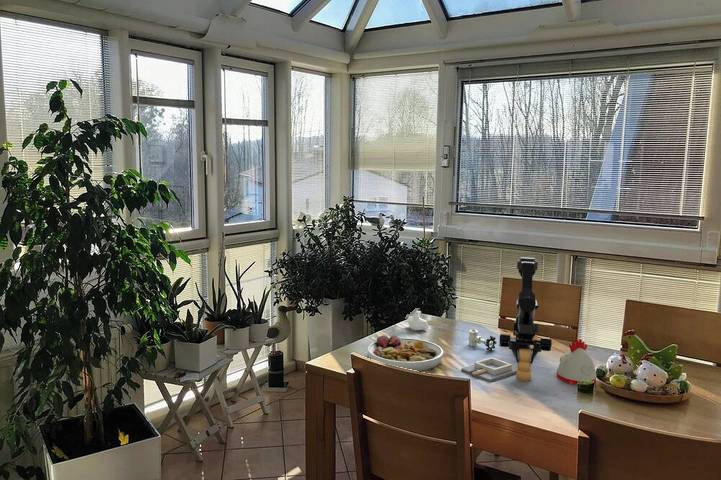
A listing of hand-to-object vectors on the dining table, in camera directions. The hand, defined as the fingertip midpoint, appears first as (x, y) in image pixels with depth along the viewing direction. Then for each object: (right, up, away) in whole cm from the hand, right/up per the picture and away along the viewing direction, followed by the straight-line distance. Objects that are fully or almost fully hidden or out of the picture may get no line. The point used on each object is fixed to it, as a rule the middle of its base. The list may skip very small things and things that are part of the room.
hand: (524, 362), depth 221 cm
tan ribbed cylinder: (0, -6, +2) cm, 7 cm away
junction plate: (-9, -5, +10) cm, 15 cm away
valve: (-9, -1, +38) cm, 39 cm away
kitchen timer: (+20, -7, +4) cm, 22 cm away
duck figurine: (-34, +3, +62) cm, 71 cm away
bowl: (-42, -4, +20) cm, 47 cm away
